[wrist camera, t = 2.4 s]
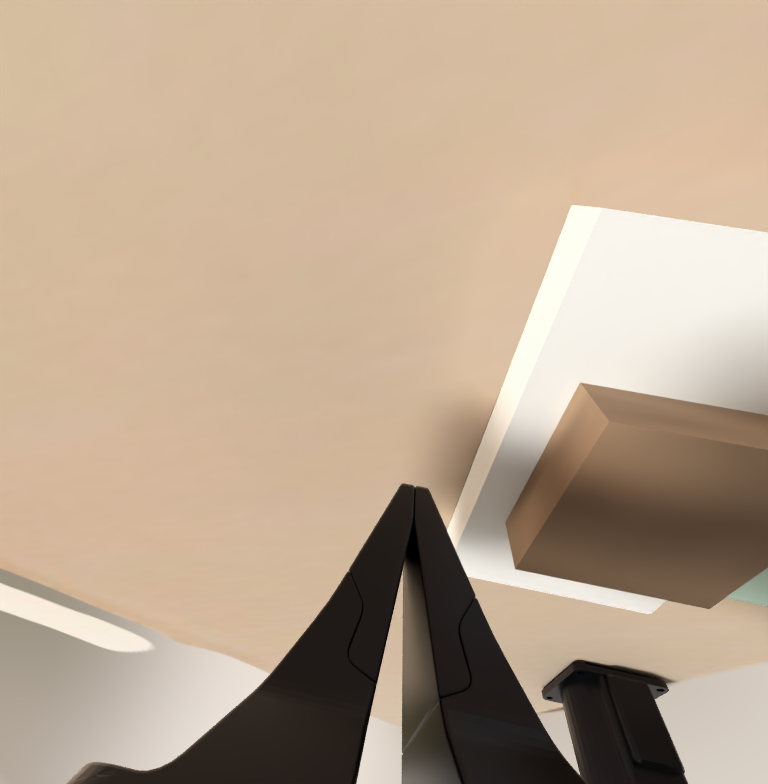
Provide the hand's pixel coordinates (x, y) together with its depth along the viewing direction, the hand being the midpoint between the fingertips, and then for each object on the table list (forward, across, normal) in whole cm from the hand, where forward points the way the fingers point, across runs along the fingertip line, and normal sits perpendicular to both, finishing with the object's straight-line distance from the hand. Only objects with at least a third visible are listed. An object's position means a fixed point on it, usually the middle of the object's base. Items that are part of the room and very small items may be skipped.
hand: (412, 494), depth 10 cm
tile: (+2, -8, 0) cm, 8 cm away
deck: (+4, -8, 0) cm, 9 cm away
